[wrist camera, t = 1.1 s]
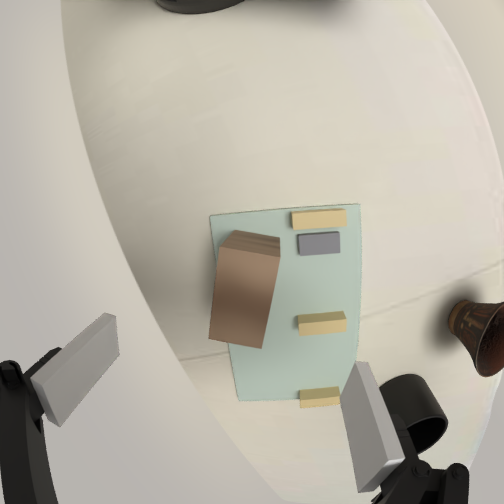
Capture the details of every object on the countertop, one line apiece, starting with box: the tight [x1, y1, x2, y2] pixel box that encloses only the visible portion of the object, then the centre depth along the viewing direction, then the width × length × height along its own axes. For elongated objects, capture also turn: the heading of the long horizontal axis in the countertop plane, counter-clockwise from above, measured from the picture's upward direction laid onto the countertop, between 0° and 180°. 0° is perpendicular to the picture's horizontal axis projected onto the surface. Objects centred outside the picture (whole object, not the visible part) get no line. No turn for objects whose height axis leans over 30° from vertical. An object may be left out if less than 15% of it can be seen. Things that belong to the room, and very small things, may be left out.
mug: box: [379, 375, 448, 455], centre depth 29 cm, size 9×12×9 cm
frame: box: [209, 230, 281, 349], centre depth 25 cm, size 8×5×8 cm, turn 171°
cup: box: [449, 300, 504, 377], centre depth 24 cm, size 9×9×10 cm
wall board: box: [210, 204, 362, 408], centre depth 29 cm, size 24×15×3 cm, turn 6°
